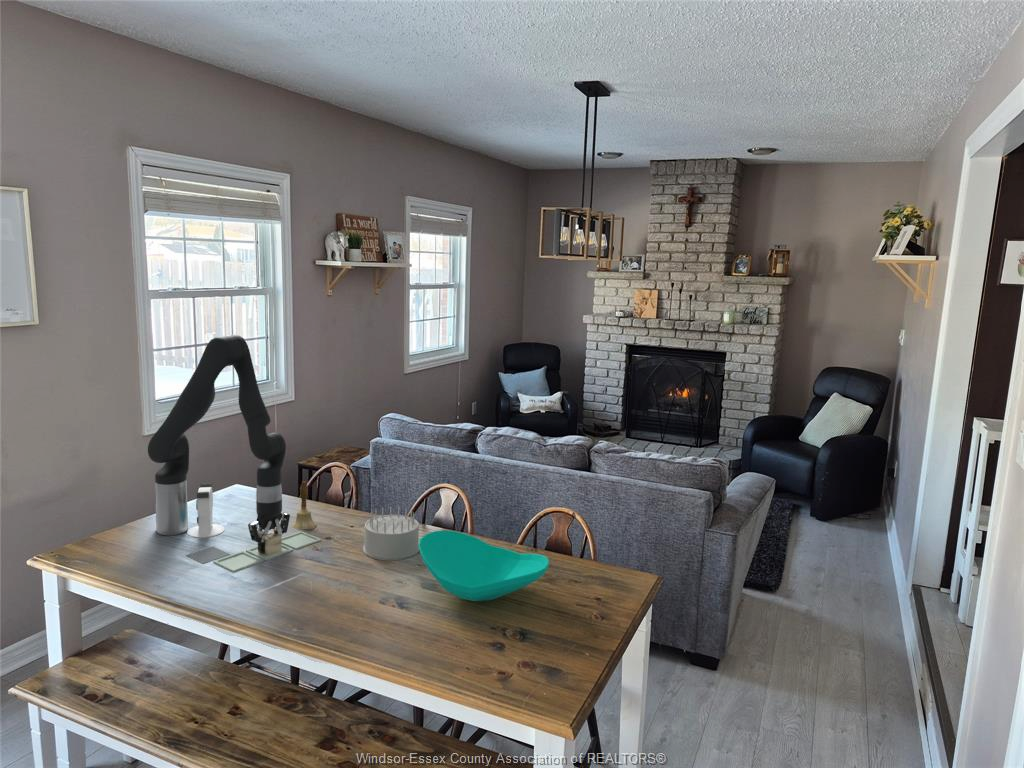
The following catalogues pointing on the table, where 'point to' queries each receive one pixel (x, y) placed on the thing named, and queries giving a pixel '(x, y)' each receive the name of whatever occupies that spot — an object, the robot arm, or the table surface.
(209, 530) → the white post on base
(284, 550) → the tray
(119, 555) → the table surface
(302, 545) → the tray
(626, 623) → the table surface
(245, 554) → the tray
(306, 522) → the hand bell
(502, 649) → the table surface
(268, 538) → the letter cube
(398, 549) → the cake
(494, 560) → the table top decor
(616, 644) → the table surface
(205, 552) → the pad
